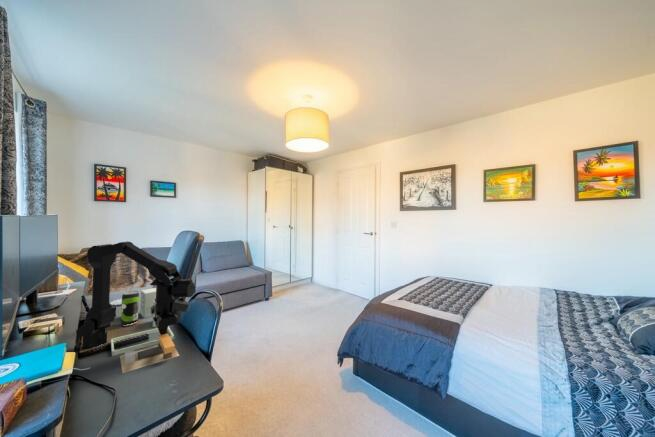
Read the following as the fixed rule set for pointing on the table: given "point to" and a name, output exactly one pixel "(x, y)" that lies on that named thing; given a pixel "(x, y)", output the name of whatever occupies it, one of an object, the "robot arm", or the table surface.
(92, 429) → the table surface
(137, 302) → the beverage can
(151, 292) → the supplement box
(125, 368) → the tie board
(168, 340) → the bar
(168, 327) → the tray
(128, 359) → the lead
